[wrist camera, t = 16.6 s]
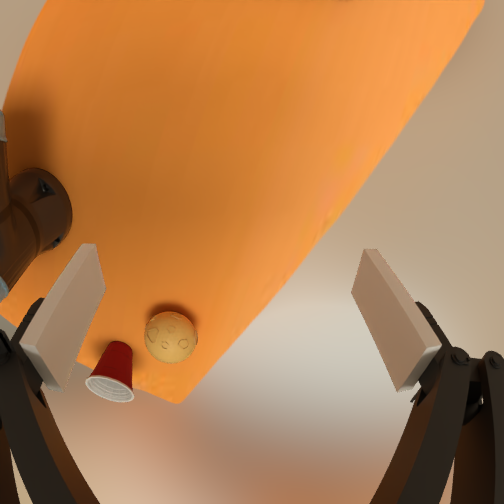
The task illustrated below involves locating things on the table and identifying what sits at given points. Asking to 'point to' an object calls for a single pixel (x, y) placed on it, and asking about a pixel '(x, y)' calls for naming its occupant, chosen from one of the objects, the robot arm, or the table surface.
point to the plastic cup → (113, 374)
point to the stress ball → (170, 337)
